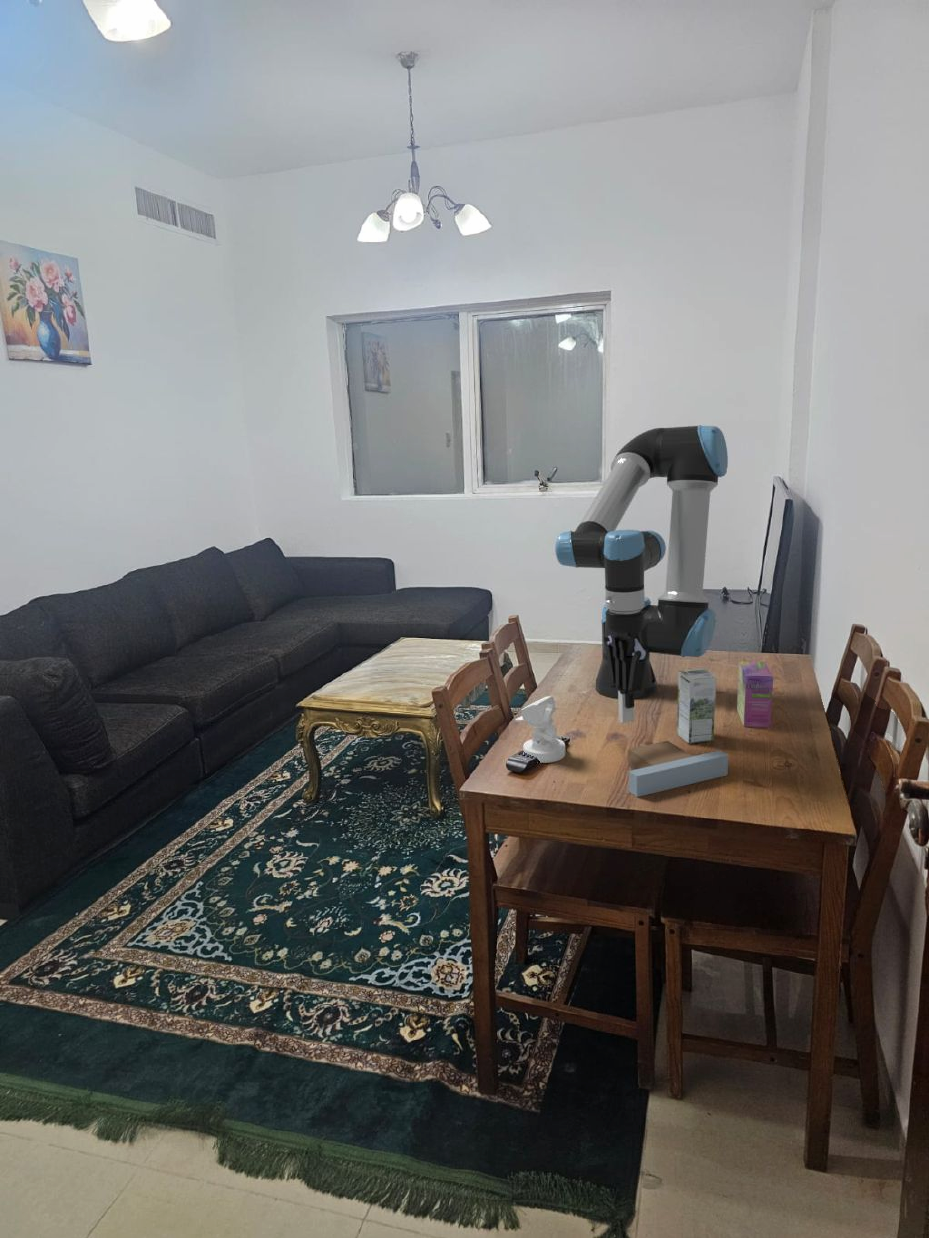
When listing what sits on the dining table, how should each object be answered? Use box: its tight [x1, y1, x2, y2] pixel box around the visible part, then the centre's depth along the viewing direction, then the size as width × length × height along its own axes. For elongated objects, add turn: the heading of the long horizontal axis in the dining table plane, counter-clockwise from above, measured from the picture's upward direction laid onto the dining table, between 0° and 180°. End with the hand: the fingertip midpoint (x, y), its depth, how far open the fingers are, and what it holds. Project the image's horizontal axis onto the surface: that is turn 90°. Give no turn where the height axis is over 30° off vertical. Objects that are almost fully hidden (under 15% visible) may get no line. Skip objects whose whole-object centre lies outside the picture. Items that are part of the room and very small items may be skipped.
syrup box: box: [676, 668, 717, 745], centre depth 161 cm, size 6×6×14 cm
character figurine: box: [514, 695, 566, 764], centre depth 157 cm, size 9×10×12 cm
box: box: [736, 661, 774, 729], centre depth 170 cm, size 10×6×12 cm, turn 168°
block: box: [627, 740, 694, 770], centre depth 147 cm, size 9×9×4 cm
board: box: [628, 750, 729, 798], centre depth 142 cm, size 2×20×4 cm, turn 111°
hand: (626, 720), depth 158 cm, fingers closed
